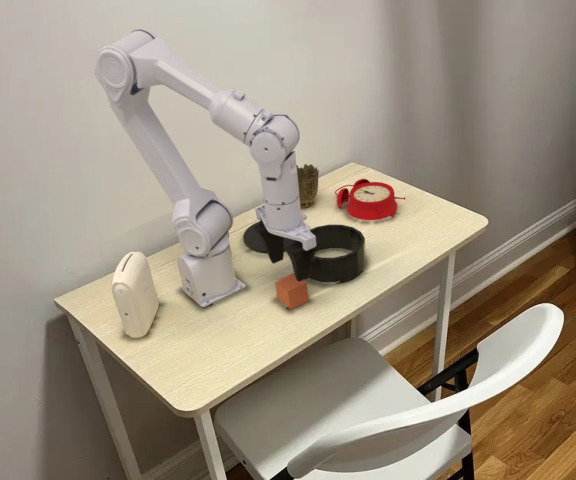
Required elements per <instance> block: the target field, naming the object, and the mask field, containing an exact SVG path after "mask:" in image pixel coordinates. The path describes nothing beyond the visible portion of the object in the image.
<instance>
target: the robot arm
mask: <svg viewBox="0 0 576 480" xmlns="http://www.w3.org/2000/svg"><path fill="white" fill-rule="evenodd" d="M93 73H94V74H93V75H94V76H95V78H96V79H97V81H98V82H99V84H100V85H101V87H102V89H103V90H104V91H105V93H106V96H107V100H108V103H109V106H110V108H111V110H112V112H113V114H114V116H115V117H116V118H117V120H118V121H119V123H120V124H121V126H122V128H123V129H124V131H125V132H126V134H127V135H128V138H129V139H130V140H131V142H132V143H133V144H134V146H135V148H136V149H137V151H138V152H139V154H140V156H142V159H143V160H144V162H145V163H146V165H147V166H148V168H149V170H150V171H151V173H152V174H153V176H154V177H155V179H156V180H157V182H158V183H159V185H160V186H161V188H162V190H163V191H164V192H165V194H166V196H167V197H168V199H169V200H170V202H171V203H172V205H173V206H172V207H173V209H172V214H171V225H172V226H173V228H174V230H175V232H176V234H177V240H178V242H179V244H180V246H181V248H182V249H183V250H184V251H185V252H184V253H182V255H180V256H179V257H177V267H178V271H179V275H180V279H181V283H182V288H181V289H182V291H183V292H184V293H185V294H186V295H187V296H188V297H190V298H191V300H193V301H194V302H195V303H196V304H197V305H198V306H200V307H201V308H205V307H208V306H210V305H212V304H213V303H214V302H215V301H217V300H220V299H222V298H224V297H226V296H228V295H230V294H231V295H232V294H233V293H235V292H237V291H239V290H241V289H244V288H246V286H247V285H246V283H244V282H243V281H241V280H240V279H239V278H237V276H236V272H235V271H236V270H235V265H234V261H233V254H232V249H231V243H230V237H231V236H230V230H231V229H232V227H233V225H234V215H233V213H232V211H231V209H230V208H229V207H228V206H227V205H226V203H224V202H223V201H221V200H220V199H219V198H218V196H217V194H216V193H215V191H213V190H210V189H207V188H203V187H202V186H200V184H199V182H198V180H197V179H196V178H195V176H194V174H193V172H192V171H191V169H190V168H189V166H188V165H187V163H186V162H185V160H184V158H183V157H182V155H181V153H180V151H179V150H178V149H177V146H176V145H175V143H174V142H173V141H172V138H171V137H170V135H169V134H168V132H167V131H166V129H165V127H164V126H163V124H162V122H161V121H160V120H159V117H158V116H157V114H156V113H155V111H154V109H153V108H152V106H151V105H150V103H149V97H150V92H151V88H152V87H155V86H161V85H163V86H164V87H167V88H168V89H170V90H172V91H174V92H176V93H177V94H179V95H181V96H183V97H184V98H186V99H187V100H189V101H191V102H193V103H195V104H196V105H198V106H200V107H201V108H203V109H205V110H207V111H208V112H209V115H210V119H211V122H212V124H214V125H215V126H217V127H218V128H219V129H221V130H222V131H224V132H226V133H227V134H229V135H230V136H232V137H233V138H235V139H236V140H238V141H239V142H240V143H242V144H244V145H245V146H247V147H248V151H249V153H250V155H251V157H252V159H253V160H254V161H255V163H256V164H257V166H258V172H259V174H260V175H259V176H260V182H261V183H260V184H261V190H262V197H263V205H261V206H258V207H256V208H255V209H254V210H255V216H256V219H257V221H261V222H260V224H258V225H256V226H255V227H254V231H255V232H256V233H257V234H258V236H259V237H260V239H261V240H262V242H263V244H264V246H265V248H266V251H267V253H266V254H267V256H268V258H269V260H270V262H271V263H272V264H277V263H279V262H281V261H283V260H284V254H285V253H286V254H287V256H288V258H289V259H290V262H291V265H292V270H293V273H294V274H295V277H296V280H297V281H299V282H300V281H302V280H304V281H305V280H306V279H309V278H308V277H309V272H310V267H311V262H312V259H313V256H315V254H316V253H317V252H316V250H317V249H318V247H319V240H317V239H316V236H315V235H313V234H312V233H311V232H310V230H311V229H310V228H309V227H308V225H307V224H306V223H307V222H306V220H307V219H308V215H307V214H306V213H305V212H303V211H302V208H300V197H299V186H298V176H297V166H296V165H297V156H296V151H295V148H297V146H298V144H299V142H300V138H301V133H300V128H299V126H298V124H297V123H296V121H294V119H292V118H291V117H290V115H288V113H284V112H275V113H274V112H272V111H270V110H268V109H266V110H265V109H264V108H263V107H261V106H260V105H258V104H257V103H256V102H253V101H252V100H251V99H250V98H248V97H246V93H245V92H244V91H242V90H241V89H239V88H238V89H237V90H236V89H234V88H231V87H230V88H226V89H220V88H219V87H217V86H216V85H215V84H214V83H212V82H211V81H210V80H208V79H207V78H206V77H204V76H203V75H202V74H201V73H200V72H198V71H196V69H194V67H193V68H192V67H191V66H190V65H189V64H188V63H186V62H185V61H184V60H183V59H181V58H180V57H179V56H177V55H176V54H175V53H173V52H172V50H171V49H170V47H169V45H168V44H167V42H166V40H165V39H163V38H161V37H159V36H156V35H155V33H153V32H152V31H150V30H149V29H148V28H143V27H139V28H134V30H132V31H130V33H129V34H127V35H125V36H123V37H122V38H120V39H118V40H116V41H114V42H113V43H111V44H109V45H105V46H103V47H102V48H100V49H99V50H98V52H97V54H96V57H95V63H94V71H93ZM284 237H285V238H289V239H293V240H295V244H292V245H289V246H287V247H285V248H283V238H284ZM284 249H285V251H286V252H284Z"/></svg>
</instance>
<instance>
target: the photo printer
mask: <svg viewBox="0 0 576 480" xmlns="http://www.w3.org/2000/svg"><path fill="white" fill-rule="evenodd" d="M111 279H112V280H111V286H110V287H111V289H110V290H111V295H112V296H113V300H114V302H115V305H116V309H117V312H118V315H119V318H120V322H121V324H122V327H123V330H124V333H125V335H127V336H128V337H130V338H132V339H140V338H143V337H144V336H146V335H147V334H148V332H149V330H150V328H151V326H152V324H153V322H154V320H155V317H156V315H157V312H158V310H159V306H160V303H159V302H160V301H159V297H158V293H157V290H156V285H155V283H154V279H153V275H152V271H151V268H150V265H149V261H148V259H147V257H146V256H145V255H144V254H143V252H141V251H130V252H128V253H126V254H125V255H124V256H123V257H122V259H121V260H120V261H119V263H118V264H117V267H116V268H115V271H114V273H113V277H112V278H111Z"/></svg>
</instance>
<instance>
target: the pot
mask: <svg viewBox="0 0 576 480" xmlns="http://www.w3.org/2000/svg"><path fill="white" fill-rule="evenodd" d="M309 230H310V232H311V233H312V234H313V235H315V236H316V239H317V240H319V247H318V249H317V250H316V252H315V253H317V252H319V251H324V250H329V249H342V250H346V251H351V252H349V253H347V254H344V255H339V256H334V257H320V256H317V255H314V256H313V259H312V262H311V267H310V272H309V277H308V278H307V279H309V280H313V281H315V282H320V283H335V285H341V284H346V283H349V282H351V281H353V280H355V279H357V278H358V277H359V276H361V274H363V272H364V269H365V265H366V237H365V236H364V234H363V233H362V231H361V230H359V229H357V228H355V227H353V226H349V225H345V224H324V225H320V226H319V225H318V226H316V227H313V228H311V229H309Z"/></svg>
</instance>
